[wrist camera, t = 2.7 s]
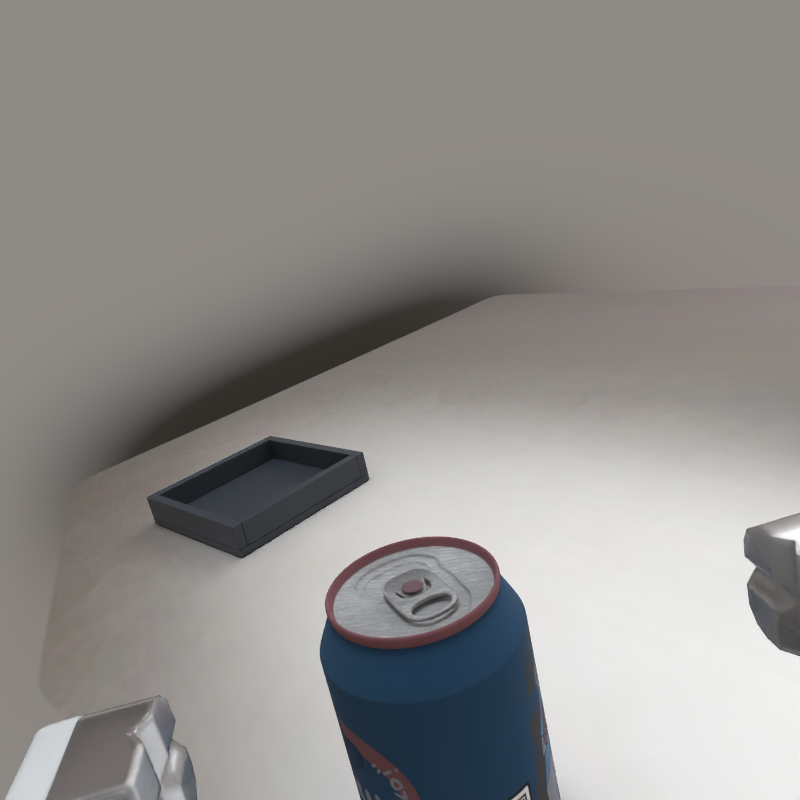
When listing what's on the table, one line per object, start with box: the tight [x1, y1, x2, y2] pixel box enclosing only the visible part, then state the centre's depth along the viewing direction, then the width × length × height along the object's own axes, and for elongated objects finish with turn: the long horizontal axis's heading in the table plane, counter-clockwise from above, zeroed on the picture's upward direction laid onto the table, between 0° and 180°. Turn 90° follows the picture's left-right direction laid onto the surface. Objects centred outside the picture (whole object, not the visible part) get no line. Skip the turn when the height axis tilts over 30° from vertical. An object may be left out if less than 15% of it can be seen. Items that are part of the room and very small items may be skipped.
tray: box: [147, 436, 369, 558], centre depth 62 cm, size 14×14×3 cm
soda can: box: [320, 537, 560, 800], centre depth 25 cm, size 7×7×12 cm
